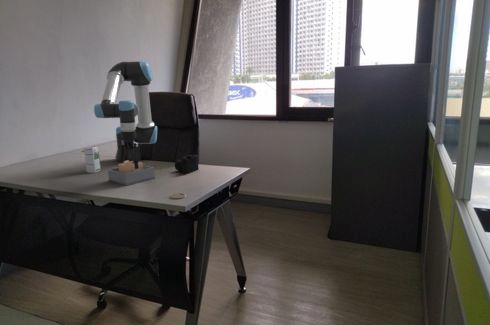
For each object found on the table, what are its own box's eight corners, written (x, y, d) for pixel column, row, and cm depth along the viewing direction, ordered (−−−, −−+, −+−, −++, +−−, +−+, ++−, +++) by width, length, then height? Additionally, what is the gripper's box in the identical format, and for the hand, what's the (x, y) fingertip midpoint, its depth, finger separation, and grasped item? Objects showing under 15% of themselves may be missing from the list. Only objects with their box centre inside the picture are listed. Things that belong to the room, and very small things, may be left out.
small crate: (135, 171, 198) (134, 160, 197) (143, 173, 194) (142, 162, 193) (119, 175, 190) (118, 163, 189) (127, 176, 186) (126, 165, 185)
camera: (186, 167, 219) (185, 151, 217) (200, 169, 214) (200, 153, 212) (171, 172, 207) (170, 155, 205) (186, 174, 202) (185, 157, 200)
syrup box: (95, 172, 208) (93, 148, 205) (86, 172, 210) (83, 147, 206) (101, 170, 214) (98, 146, 211) (92, 170, 215) (89, 146, 212)
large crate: (136, 174, 204) (136, 163, 203) (154, 178, 195) (154, 167, 194) (109, 180, 191) (107, 169, 190) (126, 185, 182) (125, 174, 180)
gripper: (110, 130, 190) (114, 172, 195) (133, 132, 179) (137, 177, 183) (123, 128, 196) (126, 169, 201) (146, 131, 184) (149, 174, 189)
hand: (131, 173), depth 192 cm, fingers closed on small crate, 7 cm apart
